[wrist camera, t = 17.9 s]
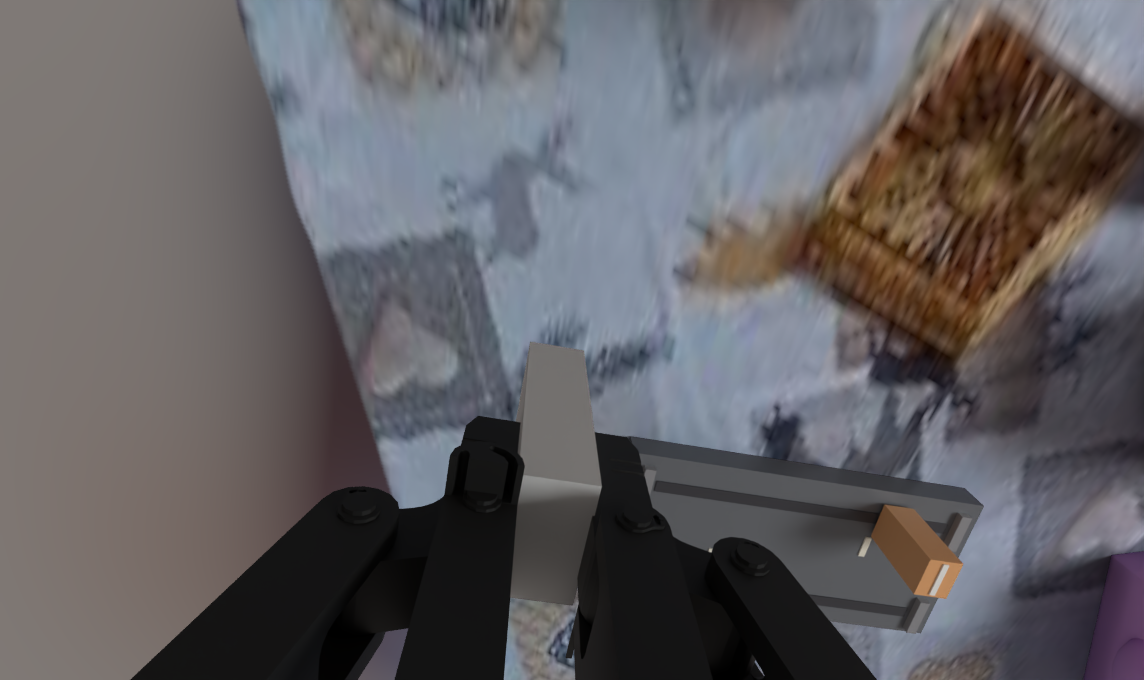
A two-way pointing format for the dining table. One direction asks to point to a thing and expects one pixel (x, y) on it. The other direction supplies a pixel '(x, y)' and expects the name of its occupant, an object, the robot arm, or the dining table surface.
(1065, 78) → the dining table surface
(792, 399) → the dining table surface
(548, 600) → the robot arm
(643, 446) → the console
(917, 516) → the orange fader
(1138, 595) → the teapot
